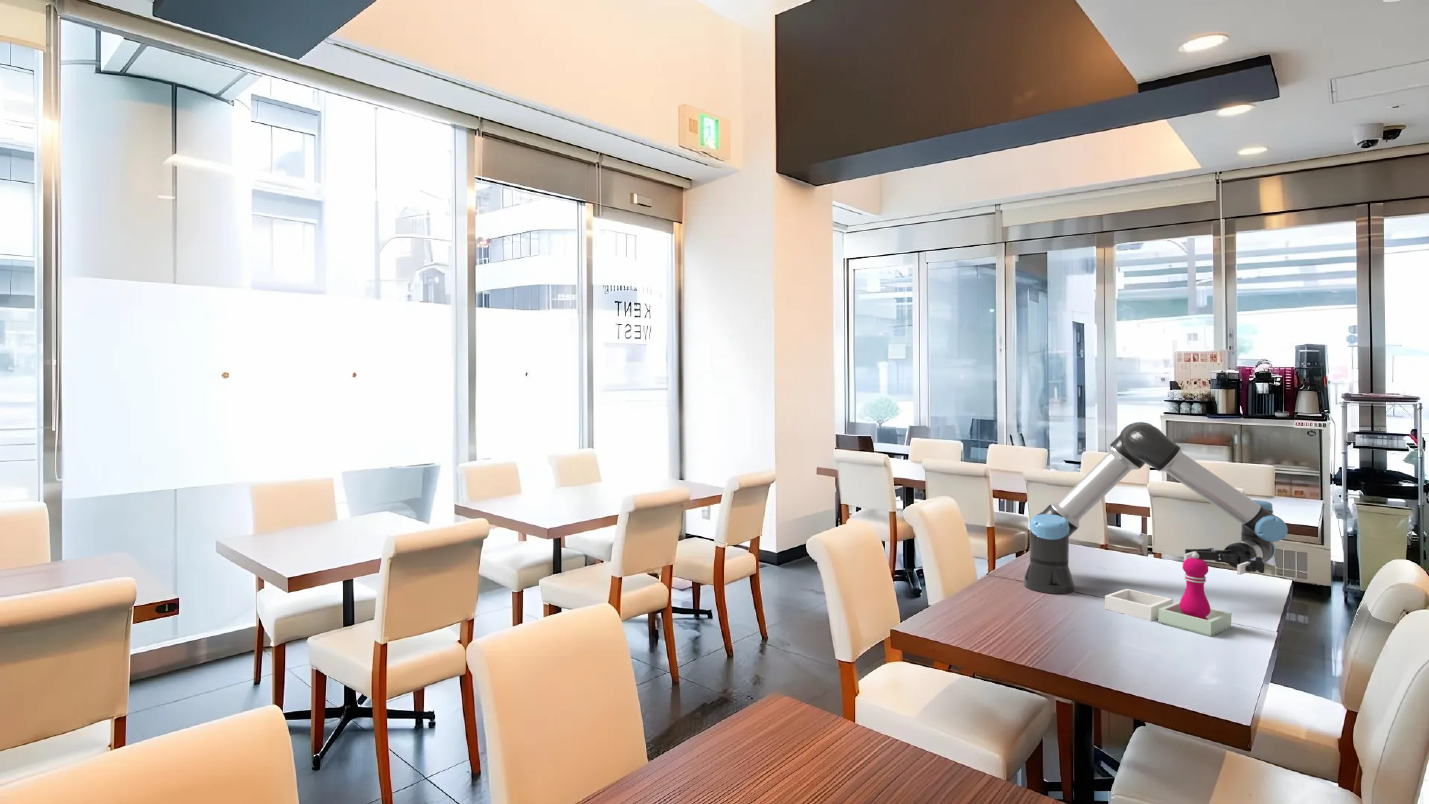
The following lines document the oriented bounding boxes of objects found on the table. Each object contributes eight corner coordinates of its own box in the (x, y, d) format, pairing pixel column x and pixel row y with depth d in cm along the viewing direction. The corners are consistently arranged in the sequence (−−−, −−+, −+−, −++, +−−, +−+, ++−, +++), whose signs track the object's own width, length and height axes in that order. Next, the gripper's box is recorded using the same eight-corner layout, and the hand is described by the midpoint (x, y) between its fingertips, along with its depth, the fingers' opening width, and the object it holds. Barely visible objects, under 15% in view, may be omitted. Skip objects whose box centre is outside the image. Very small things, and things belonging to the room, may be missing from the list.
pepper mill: (1215, 628, 193) (1216, 556, 193) (1186, 626, 195) (1187, 555, 194) (1202, 619, 200) (1203, 550, 200) (1174, 618, 202) (1175, 549, 201)
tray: (1158, 623, 199) (1158, 609, 199) (1179, 614, 206) (1179, 600, 206) (1210, 636, 188) (1210, 622, 188) (1231, 627, 196) (1231, 613, 196)
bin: (1104, 608, 212) (1104, 595, 212) (1126, 601, 219) (1126, 588, 219) (1150, 621, 201) (1151, 607, 201) (1172, 612, 208) (1172, 599, 208)
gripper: (1292, 576, 205) (1262, 588, 193) (1196, 557, 225) (1164, 567, 214) (1293, 551, 204) (1263, 561, 193) (1197, 534, 225) (1165, 542, 214)
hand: (1211, 564), depth 203 cm, fingers open, 13 cm apart
